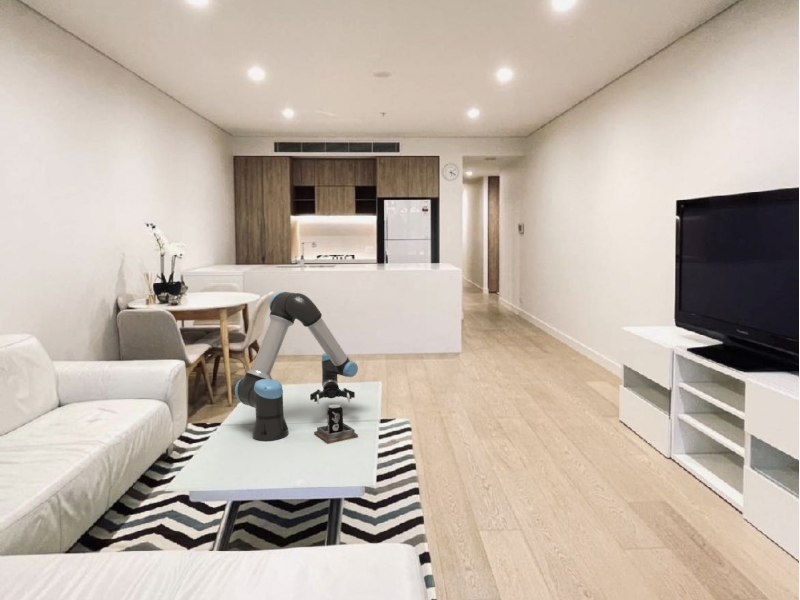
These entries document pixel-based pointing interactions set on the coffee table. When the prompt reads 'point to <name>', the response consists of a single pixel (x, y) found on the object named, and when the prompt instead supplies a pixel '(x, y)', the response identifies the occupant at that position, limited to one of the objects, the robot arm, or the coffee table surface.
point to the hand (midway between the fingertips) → (333, 400)
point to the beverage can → (335, 418)
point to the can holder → (335, 434)
